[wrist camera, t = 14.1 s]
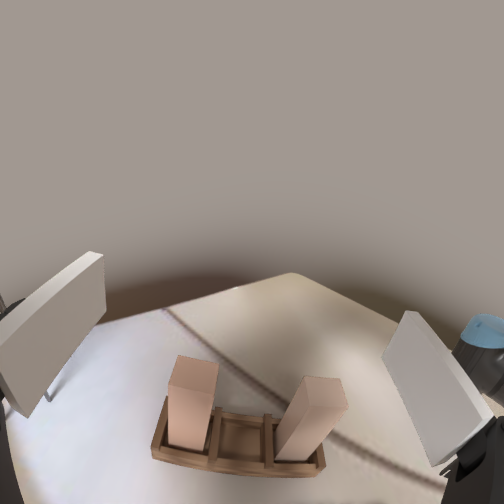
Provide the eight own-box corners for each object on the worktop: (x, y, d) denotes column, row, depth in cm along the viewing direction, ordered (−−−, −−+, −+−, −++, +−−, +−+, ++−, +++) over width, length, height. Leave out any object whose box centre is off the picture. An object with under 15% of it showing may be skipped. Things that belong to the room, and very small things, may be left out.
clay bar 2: (271, 436, 32) (304, 375, 28) (300, 438, 33) (339, 378, 28) (272, 461, 28) (309, 405, 24) (303, 462, 28) (348, 406, 24)
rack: (307, 430, 35) (316, 417, 34) (314, 477, 27) (326, 466, 25) (166, 410, 34) (166, 395, 33) (152, 458, 25) (150, 446, 24)
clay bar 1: (174, 421, 32) (178, 354, 27) (206, 428, 32) (219, 363, 27) (168, 446, 27) (168, 384, 23) (202, 453, 28) (214, 394, 23)
